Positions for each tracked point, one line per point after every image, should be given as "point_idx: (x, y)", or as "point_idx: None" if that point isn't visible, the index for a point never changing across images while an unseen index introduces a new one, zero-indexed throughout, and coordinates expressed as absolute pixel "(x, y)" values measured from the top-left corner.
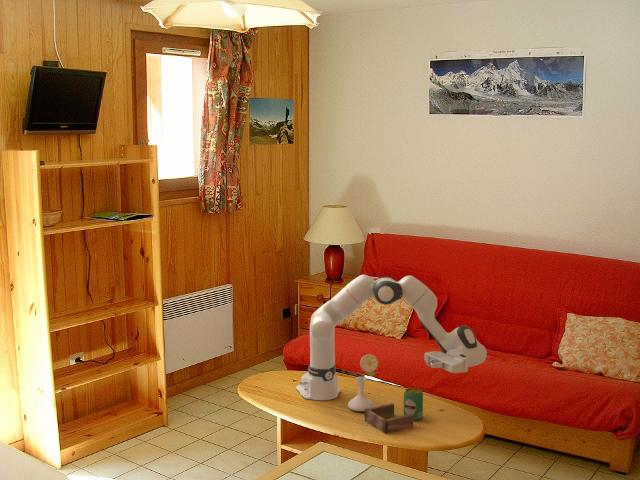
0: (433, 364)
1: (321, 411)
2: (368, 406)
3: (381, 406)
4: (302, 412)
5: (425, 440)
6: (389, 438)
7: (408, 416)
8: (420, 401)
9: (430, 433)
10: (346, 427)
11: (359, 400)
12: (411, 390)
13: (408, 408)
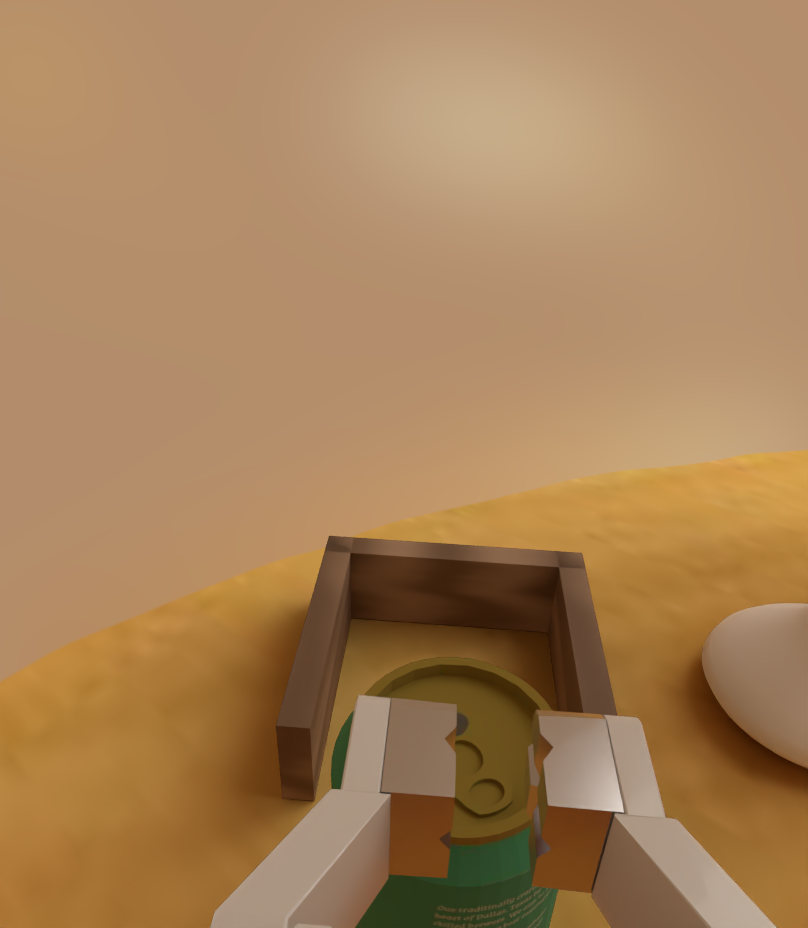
0: (353, 729)
1: (801, 537)
2: (723, 671)
3: (588, 649)
4: (805, 485)
5: (49, 709)
6: (264, 584)
7: (289, 684)
8: None
9: (77, 819)
10: (528, 522)
11: (779, 611)
12: (512, 759)
13: None
